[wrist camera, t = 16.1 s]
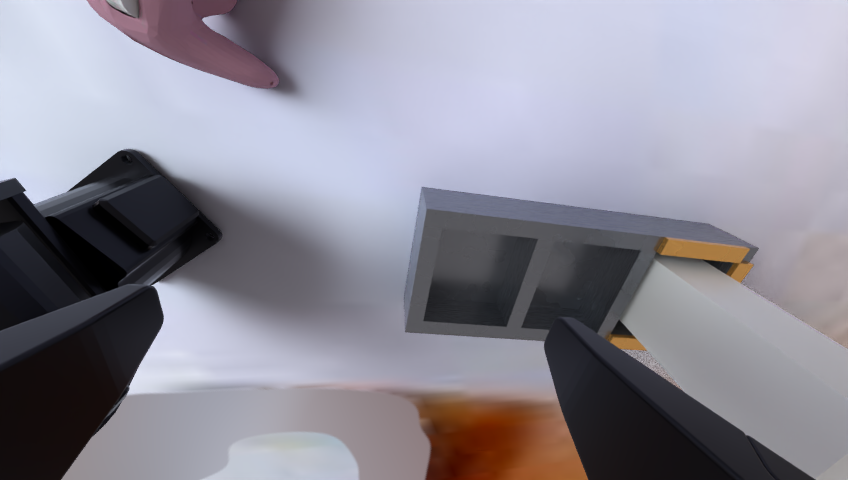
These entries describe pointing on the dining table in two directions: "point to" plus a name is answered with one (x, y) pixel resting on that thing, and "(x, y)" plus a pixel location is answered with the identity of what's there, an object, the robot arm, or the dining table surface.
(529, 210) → the rack
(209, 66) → the video game controller
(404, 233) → the dining table surface
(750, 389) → the light grey block
